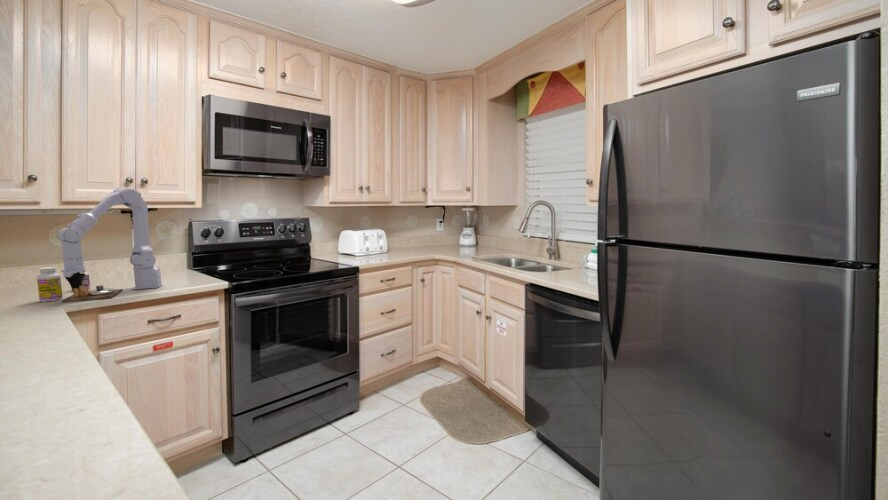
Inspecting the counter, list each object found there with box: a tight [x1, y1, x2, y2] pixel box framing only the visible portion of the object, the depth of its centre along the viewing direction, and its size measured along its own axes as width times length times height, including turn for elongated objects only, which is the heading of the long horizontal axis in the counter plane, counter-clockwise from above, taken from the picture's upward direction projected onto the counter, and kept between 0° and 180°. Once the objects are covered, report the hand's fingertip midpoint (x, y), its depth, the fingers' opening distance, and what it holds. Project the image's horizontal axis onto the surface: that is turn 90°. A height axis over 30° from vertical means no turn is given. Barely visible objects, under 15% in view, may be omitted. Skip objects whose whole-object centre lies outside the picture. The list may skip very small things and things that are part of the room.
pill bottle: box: [80, 267, 91, 290], centre depth 178 cm, size 5×5×10 cm
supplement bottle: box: [36, 266, 64, 303], centre depth 159 cm, size 7×7×13 cm
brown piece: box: [61, 286, 124, 303], centre depth 166 cm, size 15×15×6 cm
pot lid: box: [73, 284, 115, 297], centre depth 165 cm, size 12×9×3 cm
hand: (77, 292), depth 162 cm, fingers closed, pressing on pot lid
